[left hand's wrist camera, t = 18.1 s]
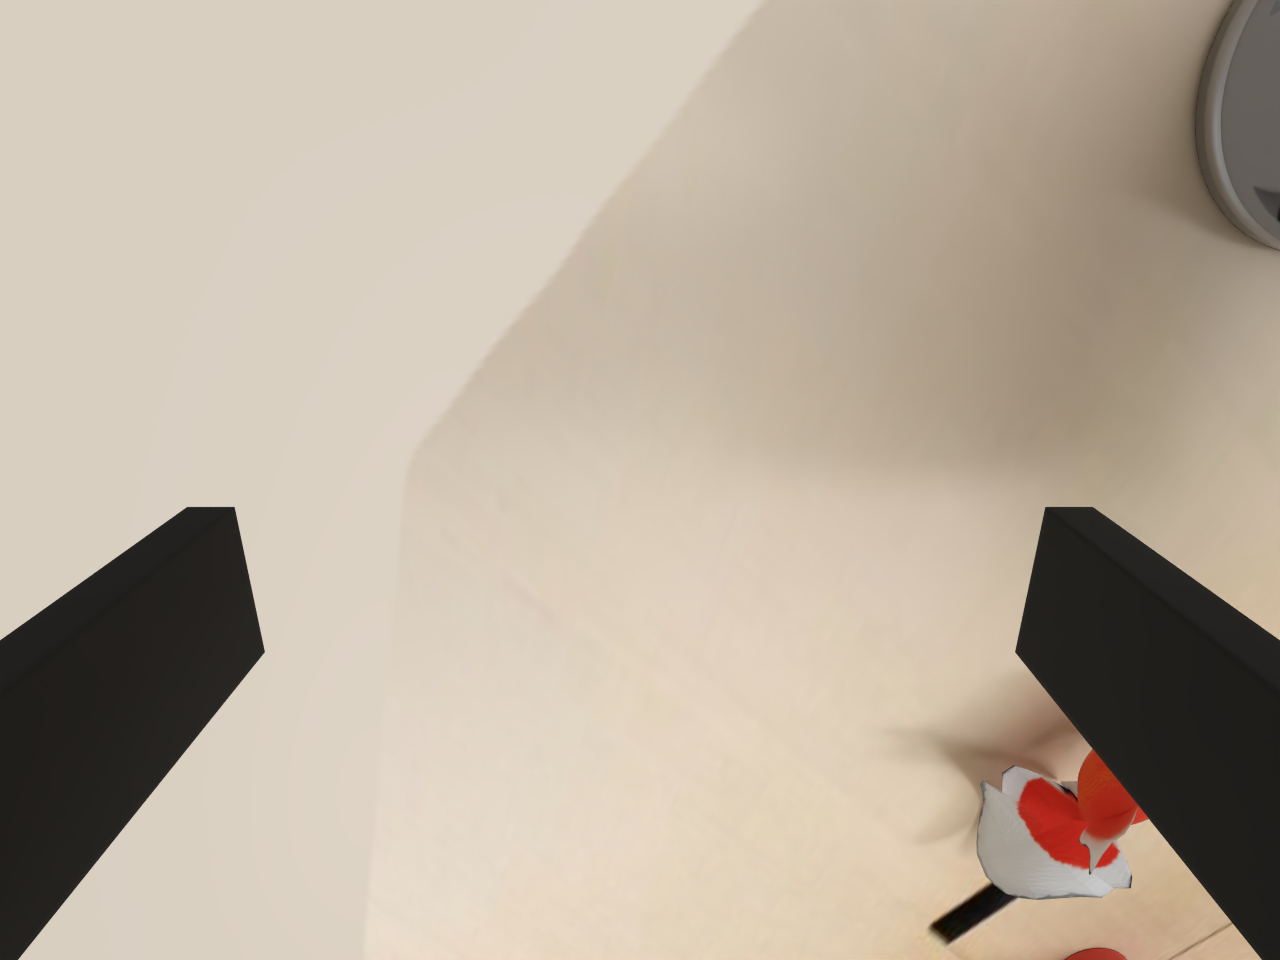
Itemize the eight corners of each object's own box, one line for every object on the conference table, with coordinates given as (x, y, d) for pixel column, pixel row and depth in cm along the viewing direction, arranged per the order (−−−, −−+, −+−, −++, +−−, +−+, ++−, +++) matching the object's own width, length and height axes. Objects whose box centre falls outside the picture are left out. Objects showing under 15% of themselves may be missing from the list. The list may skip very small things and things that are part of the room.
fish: (1281, 814, 44) (1307, 954, 36) (1019, 848, 54) (996, 964, 46) (1180, 656, 44) (1184, 762, 36) (937, 718, 54) (900, 812, 46)
